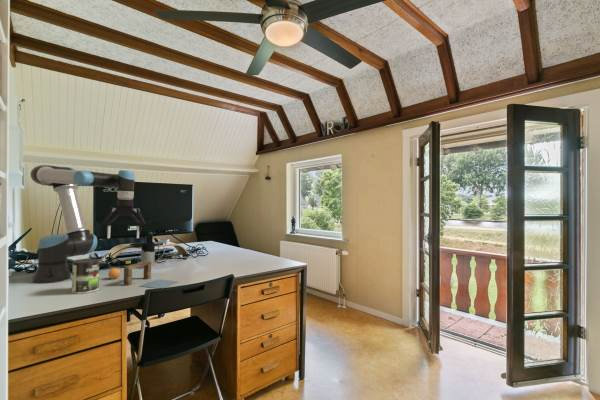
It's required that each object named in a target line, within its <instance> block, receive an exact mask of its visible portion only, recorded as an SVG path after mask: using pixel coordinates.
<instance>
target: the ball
mask: <svg viewBox="0 0 600 400" xmlns="http://www.w3.org/2000/svg"><path fill="white" fill-rule="evenodd" d="M107 275H108V277H109V278H110V279H112V280H115V279H117V278H119V277H120V276H121V271H120V269H119V268H117V267H116V268H111V269H110V270H109V271H108V273H107Z"/></svg>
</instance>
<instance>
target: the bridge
mask: <svg viewBox="0 0 600 400" xmlns="http://www.w3.org/2000/svg"><path fill="white" fill-rule="evenodd" d="M140 266H144V269H143V280H149V279H151V278H152V268H151V262H150V261H145V262H141V261H140V262H138V263H133V264H129V265H126V266H123V286H131V285H132V282H133V281H132V280H133V269H136V268H140Z"/></svg>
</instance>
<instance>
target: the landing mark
mask: <svg viewBox="0 0 600 400" xmlns="http://www.w3.org/2000/svg"><path fill="white" fill-rule="evenodd" d="M177 283H179V281H177V280H169V279H159V278H157V279H155V280H152V281H150V282H146V283H144V284H140V285H139V287H142V288H143V287H144V288H151V289H157V288H162V289H164V288H167V287H169V286H172V285H174V284H177Z"/></svg>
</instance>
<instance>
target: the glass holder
mask: <svg viewBox="0 0 600 400" xmlns="http://www.w3.org/2000/svg"><path fill="white" fill-rule="evenodd" d="M161 246H162V247H163V248H164V251H163V253H162V255H161V256H160V257H158V259H156V257H155V256H156V253H157V252H159V248H160V247H161ZM155 247H156V243H155V242H145V243H141V250H140V253H141V254H140V263H141V262H145V261H150V262H151V269H153V268H156V265H155V264H156V263H157V262H158V261H159V260H160V259H162V257H164V255H165V252H166V247H165V246H164V245H163V244H160V245H159V246H158V247H157V250H155ZM155 260H156V261H155ZM139 269H143V270H144V266H140V267H139Z"/></svg>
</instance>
